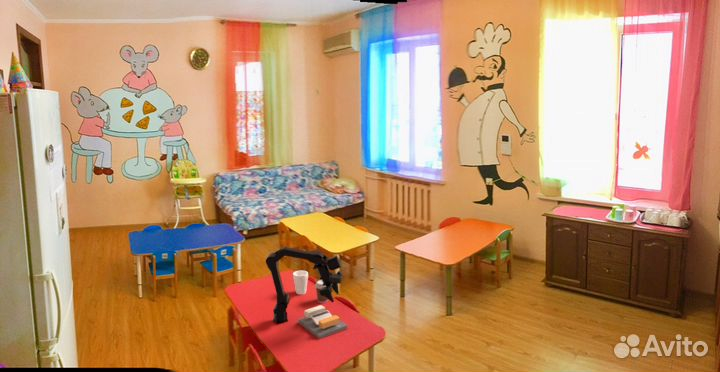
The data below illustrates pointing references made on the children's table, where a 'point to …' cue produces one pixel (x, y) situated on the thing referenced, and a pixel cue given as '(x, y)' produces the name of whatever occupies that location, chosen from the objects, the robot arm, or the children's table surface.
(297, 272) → the foam cup
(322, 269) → the robot arm
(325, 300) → the coffee cup
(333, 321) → the orange key
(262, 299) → the children's table surface
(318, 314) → the cream plate with stripe
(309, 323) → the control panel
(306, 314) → the cream key
